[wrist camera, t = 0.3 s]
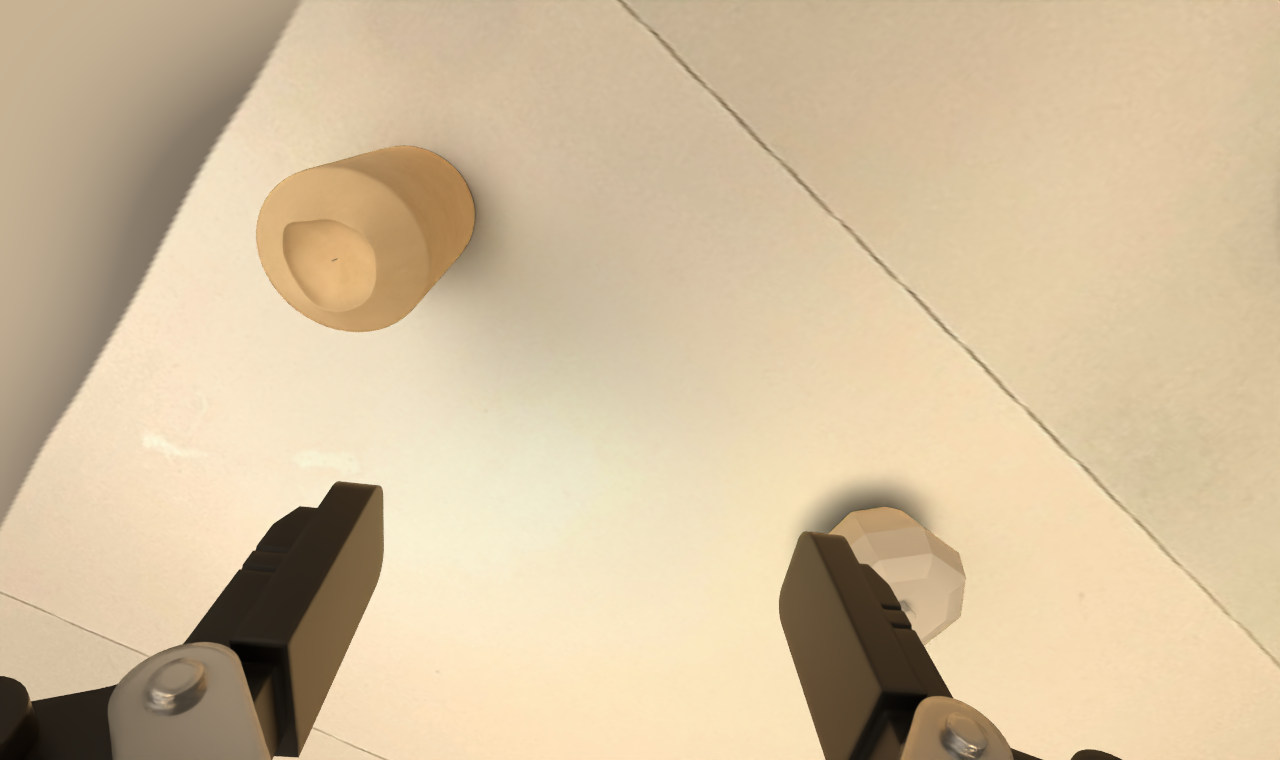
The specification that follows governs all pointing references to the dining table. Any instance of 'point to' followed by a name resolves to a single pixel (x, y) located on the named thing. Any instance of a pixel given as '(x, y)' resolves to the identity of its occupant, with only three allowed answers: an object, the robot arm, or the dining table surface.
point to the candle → (364, 235)
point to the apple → (909, 566)
